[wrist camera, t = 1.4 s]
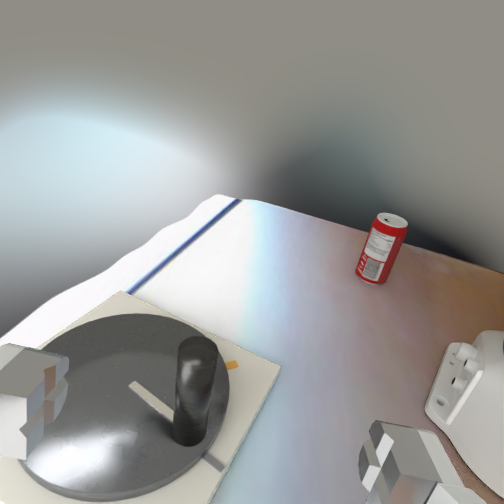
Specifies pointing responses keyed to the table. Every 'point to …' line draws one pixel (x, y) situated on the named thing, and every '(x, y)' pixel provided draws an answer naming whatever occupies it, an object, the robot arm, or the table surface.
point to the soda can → (381, 248)
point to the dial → (130, 408)
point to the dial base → (216, 458)
